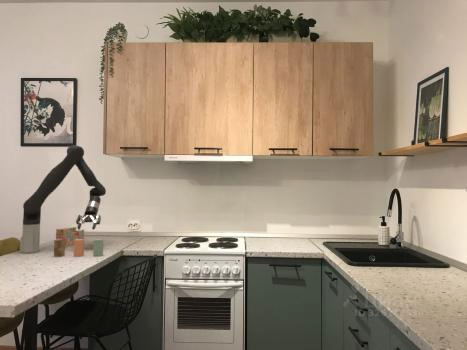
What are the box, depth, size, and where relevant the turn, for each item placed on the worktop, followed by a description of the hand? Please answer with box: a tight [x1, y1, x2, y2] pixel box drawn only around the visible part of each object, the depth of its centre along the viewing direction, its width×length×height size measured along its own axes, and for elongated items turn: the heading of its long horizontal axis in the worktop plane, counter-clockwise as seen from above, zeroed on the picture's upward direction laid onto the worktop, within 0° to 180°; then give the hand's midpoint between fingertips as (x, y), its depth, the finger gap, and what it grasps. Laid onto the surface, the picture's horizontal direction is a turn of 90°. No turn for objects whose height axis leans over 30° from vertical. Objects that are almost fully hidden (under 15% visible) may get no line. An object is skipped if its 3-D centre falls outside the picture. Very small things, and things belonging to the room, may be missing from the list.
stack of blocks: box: [55, 226, 85, 248], centre depth 226 cm, size 21×6×12 cm, turn 169°
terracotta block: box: [73, 238, 85, 258], centre depth 189 cm, size 4×4×10 cm
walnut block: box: [53, 239, 66, 258], centre depth 188 cm, size 4×4×10 cm
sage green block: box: [92, 238, 104, 257], centre depth 191 cm, size 4×4×10 cm
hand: (85, 228), depth 201 cm, fingers open, 8 cm apart
